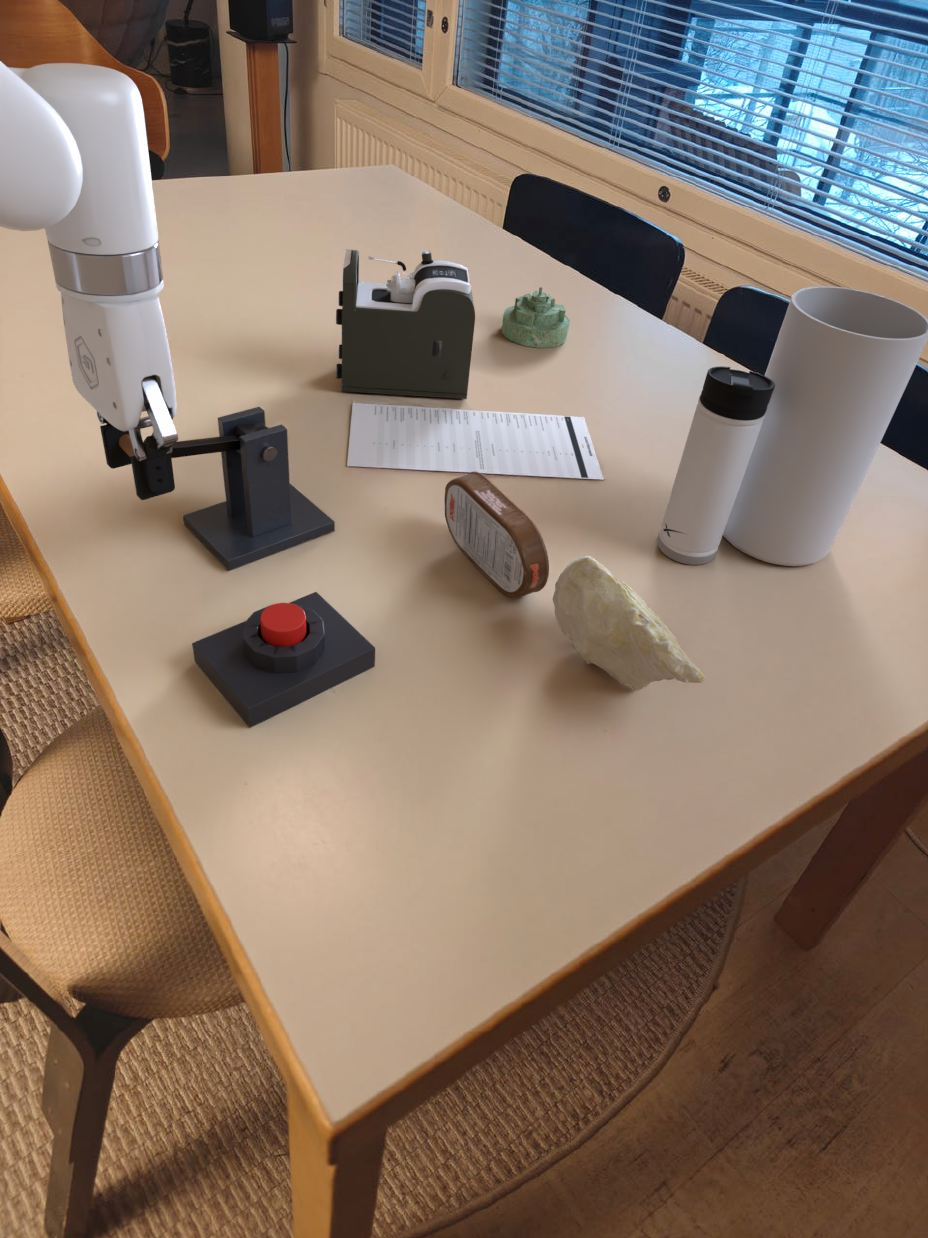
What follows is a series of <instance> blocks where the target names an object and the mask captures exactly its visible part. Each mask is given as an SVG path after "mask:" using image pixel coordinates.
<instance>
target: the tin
mask: <svg viewBox="0 0 928 1238" xmlns="http://www.w3.org/2000/svg"><path fill="white" fill-rule="evenodd" d="M444 517H445V518H444V519H445V522H446V525H447V528H448V530H449V533H450V535H451V537H452V540H453V541H454V543H455V544H456V546H457V547H458V548H459V550H460V551H461V552H462V553H463V554H464V555H465V556H466V557H467V558H468V559H469V560H470V561H471V562H472V563H473V565H474V566H476V567H477V569H478V570H479V571H480V572H481V573H482V574H483V575H484V576H485V577H486V578H487V579H488V581H490V582H491V584H493V586H495V587H496V589H497V590H498V591H499V592H500V593H502V594H503V595H504V596H506V597H508V598H511V599H517V598H518V599H519V598H522V597H525V596H528V595H530V594H532V593H537V592H540V591H542V590H543V589H544V588H545V587H546V585H547V583H548V580H549V575H550V560H549V554H548V550H547V546H546V543H545V541H544V538H543V536H542V534H541V532H540V530H539V527H538V526H537V525H536V523H535V522H534V521H533V519H531V518H530V516H529V515H528V514H527V513H526V512H525V511H524V510H522V509H521V508H520V506H519V505H517V504H516V503H515V502H514V501H513V500H511V498H510V497H508V495H506V494H505V493H504V492H503V491H502V490H501V489H500V488H499V487H498V486H497V485H496V484H494V483H493V482H492V480H490V479H489V477H487V476H486V475H485V474H482V473H479V472H470V473H466V474H464V475H461V476H458V477H455V478H452V479H451V480H449V481H448V483H447V484H446V485H445V489H444Z"/></svg>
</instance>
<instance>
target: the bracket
mask: <svg viewBox="0 0 928 1238" xmlns="http://www.w3.org/2000/svg"><path fill="white" fill-rule="evenodd" d="M252 423H263V424H264V425H265V426H266V411H265V409H264V408H263V407H261V406H257V407H252V408H249V409H244V410H241V411H237V412H234V413H230V414H226V415H222V416H218V417H217V427H218V437H222V436H230V435H235V426H236V425H243V424H252ZM288 436H289V435H288V428H287V427H286V426H285V425H283V424H281V423H280V424H278V425H274V426H271V427H268V428H267V429H264V430H260V431H257V432H253V433H250V434H246V435H243V436H240V437H239V438H240V449H241V454H239V453H238V452H237V451H236V450H233V451H225V452H220V456H221V465H222V475H223V485H224V494H225V500H224V501H222V502H219V503H216V504H213V505H209V506H207V507H204V508H201V509H197V510H194V511H191V512H188V513H185V514H183V515H182V521H183V526H184V527H185V528H186V529H187V530H188V531H189V532H190V533H191V534H192V535H193V536H194V537H195V538H196V539H197V540H198V541H199V542H200V543H201V545H203V546H204V547H205V548H206V550H208V552H210V553H211V554H212V555H213V556H214V558H215V559H216V560H218V562H219V563H221V565H222V566H223V567H224V568H225V569H226V570H227V571H228V572H230V571H233V570H235V569H238V568H240V567H243V566H246V565H248V564H251V563H253V562H256V561H259V560H261V559H265V558H266V557H270V556H272V555H274V554H277V553H280V552H282V551H286V550H287V549H291V548H293V547H296V546H299V545H301V544H304V543H307V542H309V541H312V540H315V539H317V538H320V537H323V536H326V535H328V534H331V533H333V532H335V531H336V530H335V529H336V527H335V526H336V525H335V520H333V518H331V517H330V516H329V515H328V514H326V512H324V511H323V510H322V509H320V507H318V506H317V505H316V504H315V503H313V502H312V501H311V500H310V499H309V498H308V497H307V496H306V495H304V494H303V493H302V492H301V491H300V490H298V489H297V488H296V487H295V486H294V485H293V484H292V483H291V482H290V461H289V439H288V438H289V437H288Z"/></svg>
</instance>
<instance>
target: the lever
mask: <svg viewBox="0 0 928 1238" xmlns="http://www.w3.org/2000/svg"><path fill="white" fill-rule="evenodd" d="M267 428H269V427H268V426H267V425H266V424H265V425H264V424H263V423H252V424H243V425H236V426H235V435H230V436H222V437H219V436H214V437H205V438H195V439H187V440H180V441H179V440H178V441H176V442H175V443H174V444H173V445H172V453H171V458H172V459H176V458H184V457H192V456H200V455H209V454H216V453H221V452H225V451H233V450H236V451H237V452H238V453H239V454H241V449H240V438H239V437H240V436H243V435H246V434H250V433H253V432H257V431H260V430H264V429H267ZM119 446H120V447H121V448H122V449H123V450H124V451H125V452H126V453H127V454H128V455H129V456H130V457H131V456H135V453H134V449H133V446H132V442H131V438H130V435H129V434H125V435H123V436H121V438H120V439H119Z"/></svg>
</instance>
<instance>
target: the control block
mask: <svg viewBox="0 0 928 1238" xmlns="http://www.w3.org/2000/svg"><path fill="white" fill-rule="evenodd" d="M289 603H291V604H294V605H297V606H299V607H300V608H301V609H302V610H303V611H304V612H305V615H306V636H305V638H304V639H303V640H302V641H301V642H300V643H298V644H296V645H293V646H289V647H275V646H272V645H270V644H268V643H267V642H265V641H264V639H263V638H262V634H261V622H260V616H261V614H262V612H263V611H264V610H265V609H266V608H267V607H269V606H271V605H273V604H274V603H273V604H270V605H267V606H264V607H262V608H260V609H258V610H256V611H254V612H253V613H252V614H250V616H249V617H248V618H247V619H246V620H244V621H242V622H240V623H237V624H234V625H232V626H230V627H228V628H225V629H222V630H221V631H218V632H215V633H213V634H211V635H208V636H206V637H203V638H201V639H199V640H196V641H194V642H192V643H191V644H192V652H193V659H194V663H195V665H196V666H198V668H199V669H200V670H201V671H202V673H203V674H204V675H205V676H206V677H207V679H208V680H209V682H210V683H212V684H213V686H214V687H215V688H216V689H217V691H218V692H219V693H220V694H221V696H223V698H224V699H225V700H226V702H227V703H228V704H229V705H230V706H231V708H232V709H234V711H235V712H236V714H238V715H239V717H240V718H241V719H242V720H243V722H244V723H245V724H246V725H247V726H248V727H249V728H253V727H254V726H257V725H259V724H261V723H263V722H265V721H267V720H268V719H271V718H273V717H275V716H278V715H279V714H281V713H283V712H285V711H287V710H289V709H291V708H293V707H295V706H297V705H299V704H302V703H303V702H305V701H307V700H310V699H311V698H314V697H316V696H317V695H320V694H322V693H324V692H326V691H328V690H330V689H332V688H334V687H336V686H338V685H340V684H342V683H344V682H346V681H348V680H351V679H353V678H354V677H356V676H359V675H360V674H363V673H365V672H366V671H368V670H370V669H372V668H374V667H376V647H375V646H374V645H373V644H372V643H371V642H370V641H369V640H368V639H367V638H366V637H364V635H362V634H361V633H360V631H358V630H357V629H356V628H355V626H353V625H352V624H351V623H350V622H349V621H348V620H347V618H346V619H345V617H343V615H342V614H341V613H340V612H339V611H337V610H336V609H335V608H334V607H333V606H332V605H331V604H330V603H329V602H328V601H327V600H326V599H325V598H323V596H322V595H321V594H320V593H318V591H314V592H312V593H309V594H307V595H305V596H302V597H299V598H298V599H295V600H292V601H289Z"/></svg>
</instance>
